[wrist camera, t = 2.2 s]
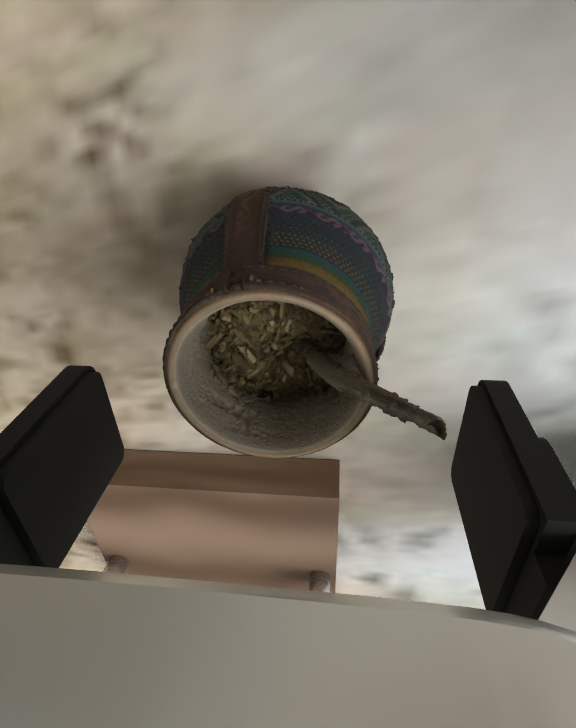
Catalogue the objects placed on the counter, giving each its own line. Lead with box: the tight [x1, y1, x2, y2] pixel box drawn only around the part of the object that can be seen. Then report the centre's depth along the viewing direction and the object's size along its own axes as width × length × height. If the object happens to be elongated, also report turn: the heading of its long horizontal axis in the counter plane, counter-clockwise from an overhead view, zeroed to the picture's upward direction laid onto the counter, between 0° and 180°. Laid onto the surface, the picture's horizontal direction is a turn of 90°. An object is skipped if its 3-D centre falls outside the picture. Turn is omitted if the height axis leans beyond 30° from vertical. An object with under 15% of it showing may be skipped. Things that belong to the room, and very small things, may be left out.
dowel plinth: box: [87, 450, 339, 593], centre depth 26 cm, size 14×14×6 cm
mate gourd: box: [163, 186, 447, 458], centre depth 14 cm, size 7×8×10 cm
